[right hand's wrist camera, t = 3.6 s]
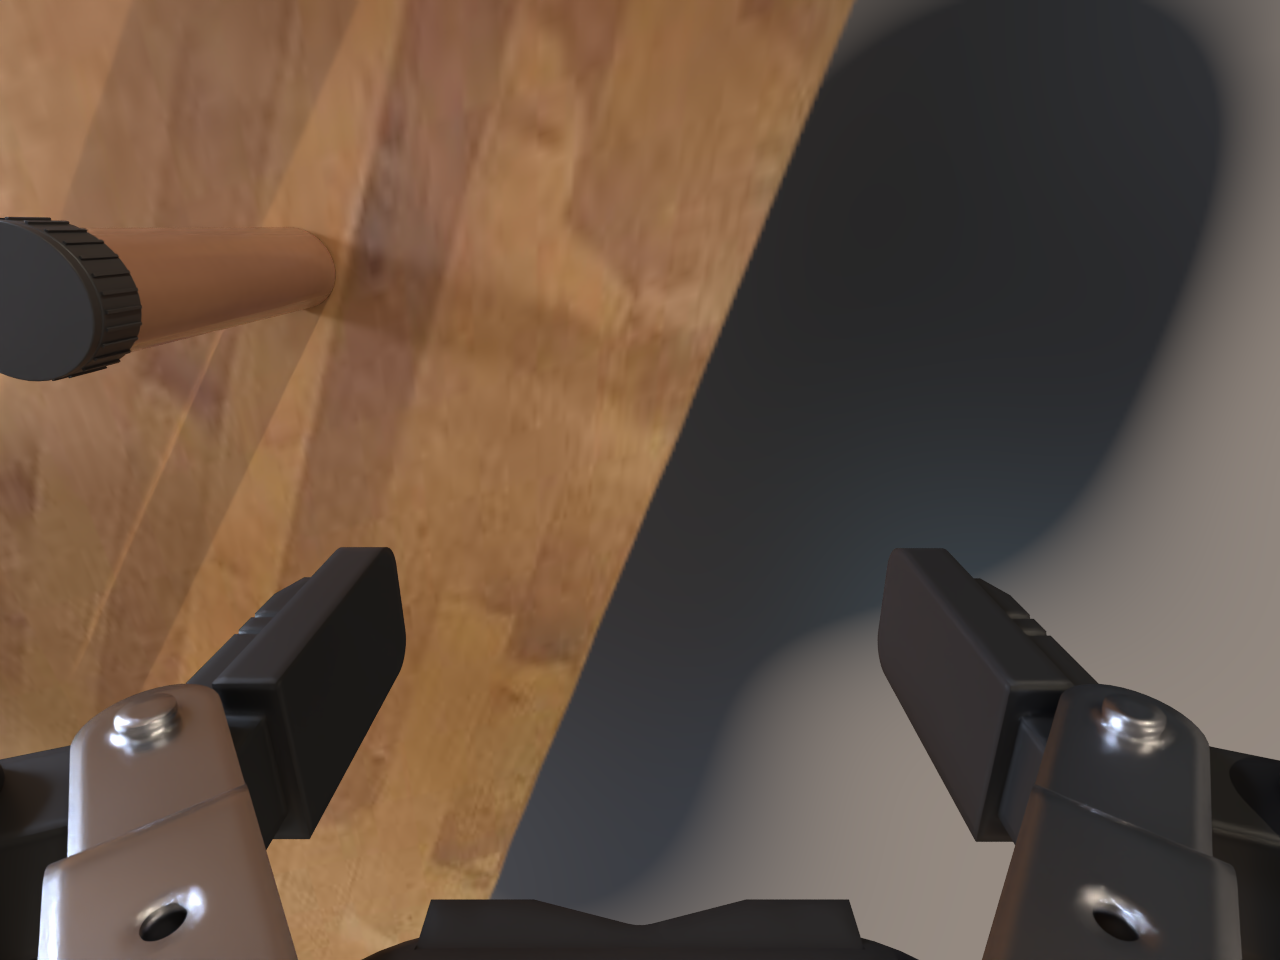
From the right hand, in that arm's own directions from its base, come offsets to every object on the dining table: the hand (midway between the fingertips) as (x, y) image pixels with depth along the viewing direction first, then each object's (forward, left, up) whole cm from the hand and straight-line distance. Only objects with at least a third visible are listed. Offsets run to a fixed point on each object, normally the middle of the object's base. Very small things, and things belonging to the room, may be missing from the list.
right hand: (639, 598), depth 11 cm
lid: (-3, -19, -12) cm, 22 cm away
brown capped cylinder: (-3, -19, -29) cm, 35 cm away
